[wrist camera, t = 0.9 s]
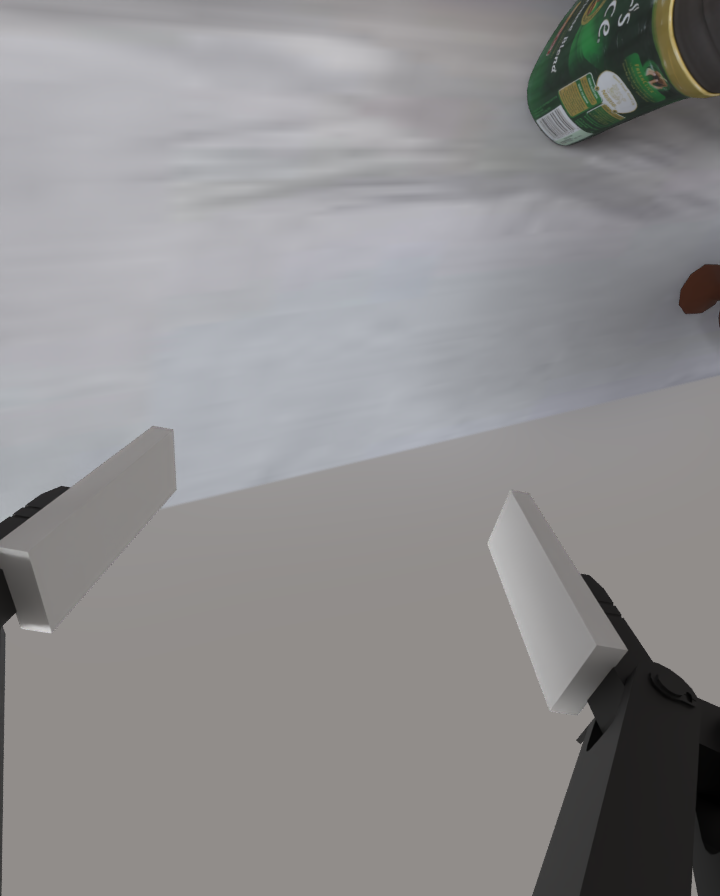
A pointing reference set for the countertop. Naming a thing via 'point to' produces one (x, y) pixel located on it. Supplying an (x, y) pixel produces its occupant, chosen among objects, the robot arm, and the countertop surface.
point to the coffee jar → (623, 64)
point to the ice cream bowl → (701, 290)
